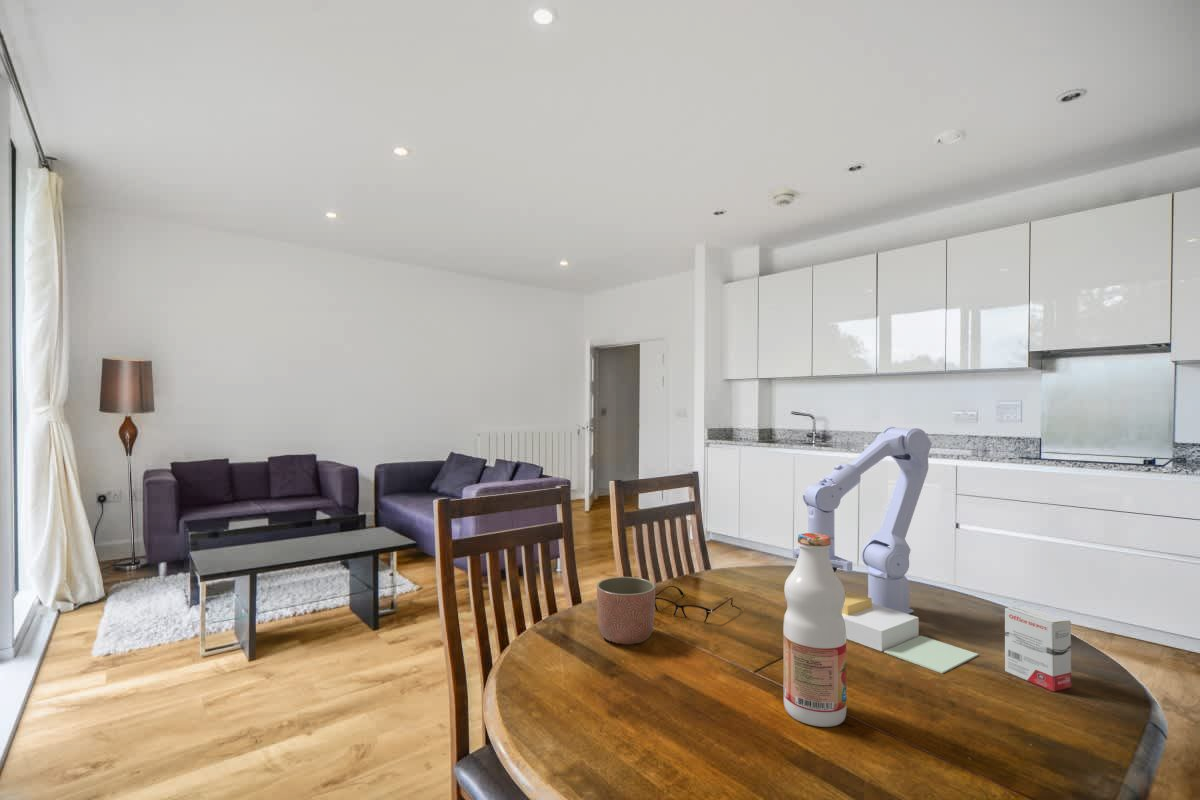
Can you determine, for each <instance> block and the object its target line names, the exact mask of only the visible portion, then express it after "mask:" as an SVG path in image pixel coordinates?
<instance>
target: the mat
mask: <svg viewBox="0 0 1200 800" xmlns="http://www.w3.org/2000/svg"><path fill="white" fill-rule="evenodd" d="M883 653H885V654H887V655H890V656H893V657H895V658H899V659H900V660H901V659H902V661H903V660H904V661H906V662H910V663H912V664H915V665H918V666H921V667H923V668H925V669H929V670H931V671H934V672H937V673H940V674H944V673H946V672H949V671H951V670H952V669H954V668H956V667H958V666H961V665H963V664H965V663H967V662H968V661H970V660H972V659H974V658H976V657H978V656H979V653H976V652H974V651H970V650H967V649H964V648H960V647H957V646H954V645H951V644H949V643H946V642H942V641H939V640H937V639H934V638H930V637H927V636H925V635H924V636H923V635H919V636H918V637H915V638H913V639H911V640H908V641H906V642H903V643H901V644H899V645H896V646H894V647H891V648H889V649H886V650H884V651H883Z"/></svg>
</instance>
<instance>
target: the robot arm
mask: <svg viewBox="0 0 1200 800" xmlns="http://www.w3.org/2000/svg"><path fill="white" fill-rule="evenodd" d="M931 448H932V442H931V440H930V438H929V436H928V435H927V432H925V431H924V430H923V429H921V428H916V427H915V428H913V427H912V428H908V427H907V428H906V427H904V428H903V427H902V428H901V427H895V426H891V427H890V426H889V427H886V428H885V429H884V430H883V431H882V432H880V433H879V434H877V435H876V436H875V440H874V441H873V442H871V443H870V444H869V445H868V446H867V447H866V448H865V449H864V450H863V451H862V452H861V453H860V454H859V455H858V456H856V457H855V458H854V459H853V460H852V461H851V462H850V463H845V462H844V463H841V464H836V465H835V466H833V469H834V470H832V471H830V472H829V473H828V474H827V475H826V476H825V477H821V478H820V479H819V482H818V483H812V484H810V485H809V486H808V487H807V488H806V489H805V491H804V494H803V495H802V499H803V503H805V505H806V506H807V517H808V518H807V523H808V527H807V529H808V530H807V533H817V534H823V535H827V536H829V537H830V540H831V544H830V548H829V550H828V552H829V557H830V561H831V565H832V568H833V570H834V573H835V574H836V572H837V569H839V570H843V572H847V573H848V572H851V571H853V561H851V560H848V559H844V558H842V557H839V556H838V555H835V554H836V553H835V548H836V547H835V546H836V544H835V510H836V509H838V508H839V506H840V504H841V500H842V499H843V497H845V495H847V494H848V493H849V492H850V491H851V490H852V489H854V488H855V487H856V486H857V485H859V484H860V482H861V478H862V477H861V475H863V474H864V473H865V472H867V471H868V470H869V469H871V468H872V467H874V466H875V465H876V464H878V463H879V462H881V461H882V460H883V459H885V458H886V457H891V458H892V459H893V460H894V461H895V462H896V463H897V465H898V467H899V468H900V471H899V474H898V477H897V480H896V483H895V486H894V488H893V491H892V494H891V498H890V499H889V503H888V506H887V509H886V510H885V511H886V512H885V514H884V518H883V520H882V523H881V526H880V530H878V531H876V532H874V533H873V534H872V535H871V536H870V539H869V540H868V542H867V543H866V544H865V545H864V546H863V548H862V551H861V560H862V562H863V563H864V565H865V566H866V570H867V572H868V573H867V583H868V584H867V587H868V589H867V590H868V591H867V593H868V594H867V597H869V598H872V604H876V605H879V606H883V607H886V608H889V609H893V610H896V611H899V612H903V613H906V614H909V615H910V614H912V613H914V609H912V608H910V607H911V605H910V600H911V599H910V598H911V597H910V582H909V580H908V578H907V577H906V573H908V571H909V568H910V555H911V554H910V553H911V551H912V550H911V547H910V546H909V544H908V543H907V541H906V537H907V534H908V531H909V528H910V525H911V522H912V519H913V515H914V513H915V510H916V507H917V505H918V501H919V499H920V496H921V492H922V490H923V486H924V483H925V480H926V477H927V475H928V471H929V455H930V450H931ZM799 552H800V548H795V549H792V558H793V559H798V556H799Z"/></svg>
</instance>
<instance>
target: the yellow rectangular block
mask: <svg viewBox="0 0 1200 800" xmlns="http://www.w3.org/2000/svg"><path fill="white" fill-rule="evenodd" d="M871 607H872V598H869V597H868V596H865V595H862V594H858V593H855V592H852V591H848V590H846V591H845V602H844V606H843V609H842V614H845V615H850V614H853V613H856V612H859V611H862V610H865V609H868V608H871Z"/></svg>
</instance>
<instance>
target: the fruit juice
mask: <svg viewBox="0 0 1200 800" xmlns="http://www.w3.org/2000/svg"><path fill="white" fill-rule="evenodd" d="M830 544H831V540H830V537H829V536H827V535H823V534H817V533H808V532H803V533H800V534H798V537H797V545H798V547H799V549H800V552H799V556H798V558H797V560H796V562H795V566H794V568H793V570H792V571H791V573H789V575H788V576H787V578H786V580H785V582H784V586H783V587H784V589H783V590H784V591H783V592H784V597H785V602H786V605H787V608H786V611H785V613H784V615H783V624H782V626H783V629H782V630H783V631H782V633H783V651H782V652H783V654H782V655H783V705H784V710H785V712H786V713H787V714H788V715H789V716H790V717H791V718H793V719H794V720H796V721H798V722H800V723H803V724H806V725H808V726H809V725H810V726H813V727H821V728H829V727H830V728H831V727H835V726H838V725H841V724H842V723H843V722H844V721H845V720H846V717H847V639H846V625H845V621H844V619H843V616H842V609H843V606H844V602H845V592H846V591H845V587H844V585H843V583H842V581H841V580H840V579H839V577H838V576H837V575H836V572H835V573H834V570H833V568H832V565H831V561H830V557H829V552H828V550H829V548H830Z"/></svg>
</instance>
